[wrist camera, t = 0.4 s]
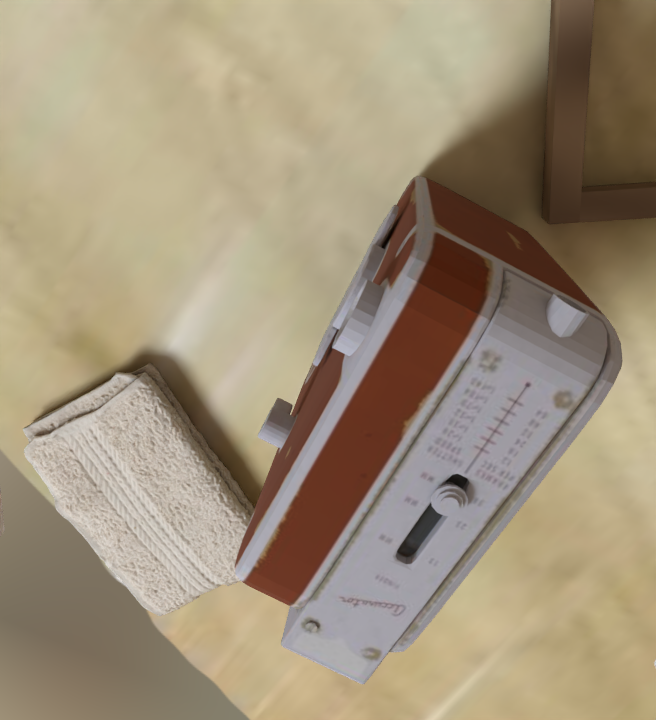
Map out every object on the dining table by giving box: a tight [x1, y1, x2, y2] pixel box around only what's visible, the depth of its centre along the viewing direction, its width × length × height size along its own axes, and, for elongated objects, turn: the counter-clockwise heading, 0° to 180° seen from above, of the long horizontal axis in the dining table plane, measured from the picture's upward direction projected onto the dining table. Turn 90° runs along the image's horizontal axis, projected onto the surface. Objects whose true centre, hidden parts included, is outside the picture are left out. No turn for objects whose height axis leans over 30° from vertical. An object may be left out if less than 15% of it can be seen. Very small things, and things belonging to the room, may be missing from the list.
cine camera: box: [234, 176, 622, 684], centre depth 28 cm, size 9×19×20 cm, turn 154°
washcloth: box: [23, 363, 254, 616], centre depth 43 cm, size 12×18×3 cm, turn 32°
